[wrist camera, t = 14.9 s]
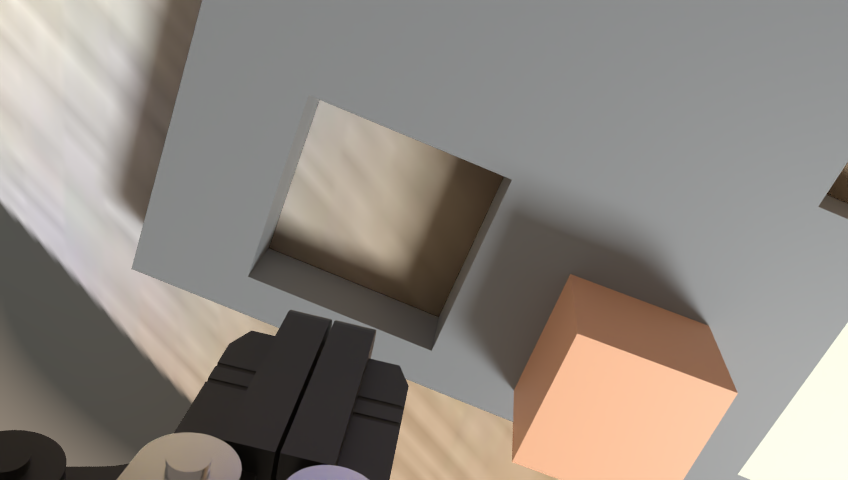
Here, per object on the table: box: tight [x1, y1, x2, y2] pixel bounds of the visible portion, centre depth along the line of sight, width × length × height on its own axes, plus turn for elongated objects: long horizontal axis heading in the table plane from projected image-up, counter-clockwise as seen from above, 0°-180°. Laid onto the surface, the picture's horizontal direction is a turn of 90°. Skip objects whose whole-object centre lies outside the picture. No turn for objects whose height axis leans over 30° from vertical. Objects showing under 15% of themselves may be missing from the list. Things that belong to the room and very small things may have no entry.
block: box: [512, 274, 738, 480], centre depth 26 cm, size 5×5×4 cm
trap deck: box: [132, 0, 848, 480], centre depth 25 cm, size 31×20×6 cm, turn 69°
